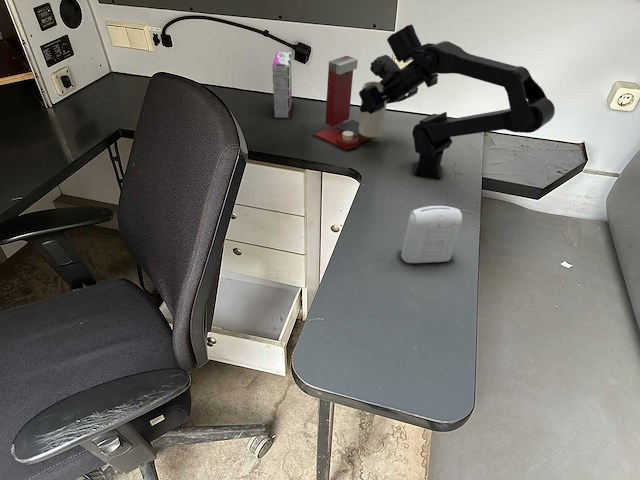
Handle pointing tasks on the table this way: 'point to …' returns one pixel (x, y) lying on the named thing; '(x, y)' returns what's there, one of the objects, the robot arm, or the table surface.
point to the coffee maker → (340, 138)
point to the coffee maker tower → (341, 94)
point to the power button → (347, 136)
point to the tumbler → (372, 117)
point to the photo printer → (431, 234)
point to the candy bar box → (282, 84)
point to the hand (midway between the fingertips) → (369, 106)
